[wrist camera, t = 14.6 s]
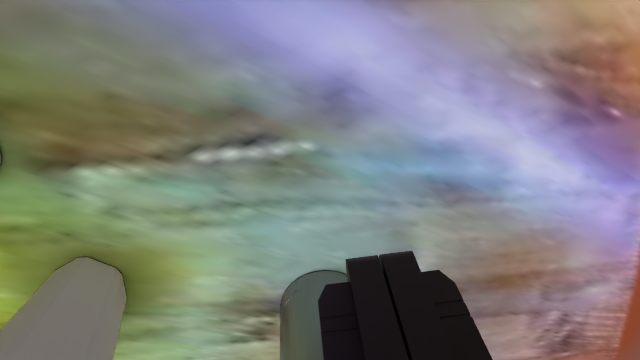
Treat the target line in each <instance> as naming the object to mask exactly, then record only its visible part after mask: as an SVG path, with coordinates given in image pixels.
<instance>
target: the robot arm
mask: <svg viewBox="0 0 640 360" xmlns="http://www.w3.org/2000/svg"><path fill="white" fill-rule="evenodd" d="M346 270H347V275H345V274H342V273H338V272H334V271H320V272H314V273H310V274H307V275H305V276H303V277H301V278H299V279H297V280H296V281H295V282H293V283H292V284H291V285H290V286H289V287H288V288H287V290H286V291H285V293H284V295H283V297H282V300H281V304H280V360H492V357H491V355H490V353H489V351H488V349H487V347H486V345H485V343H484V341H483V339H482V337H481V335H480V333H479V331H478V329H477V327H476V325H475V323H474V321H473V319H472V317H470V312H469V310H468V308H467V306H466V304H465V303H464V302H463V298H462V296H461V294H460V292H459V290H458V288H457V286H456V284H455V283H454V282H453V281H452V280H451V279H449V278H448V277H447V276H446V275H444V274H443V273H442V272H441V271H440V270H434V271H427V272H421V271H420V268H419V266H418V263H417V261H416V259H415V256H414V254H413V252H412V251H405V252H398V253H390V254H382V255H379V258H378V256H377V255H375V256H367V257H359V258H352V259H346Z"/></svg>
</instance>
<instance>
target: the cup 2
mask: <svg viewBox="0 0 640 360" xmlns="http://www.w3.org/2000/svg"><path fill="white" fill-rule="evenodd" d="M126 299H127V296H126V291H125V287H124V282H123V277H122V274H121V273H120V272H119V271H118V270H117V269H116V268H114V267H112V266H109V265H106V264H104V263H101V262H99V261H96V260H93V259H91V258H88V257H81V258H76V259H74V260H73V261H71V262H69V263H68V264H66V265H64V266H62V267H61V268H59V269H57V270H56V271H54V273H53V274H52V275H51V276H50V277H49V278H48V279H47V280H46V281H45V282H44V283H43V284H42V286H41V287H40V288H39V289H38V290H37V291H36V292H35V293H34V294H33V295H32V296H31V297H30V299H29V300H28V301H27V302H26V303H25V304H24V305H23V306H22V307H21V308H20V309H19V311H18V312H17V313H16V314H15V315H14V316H13V317H12V318H11V319H10V320H9V321H8V322H7V324H6V325H5V326H4V327H3V328H2V329H1V330H0V360H113V357H114V353H115V348H116V344H117V339H118V335H119V330H120V326H121V321H122V317H123V312H124V308H125V303H126Z"/></svg>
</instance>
